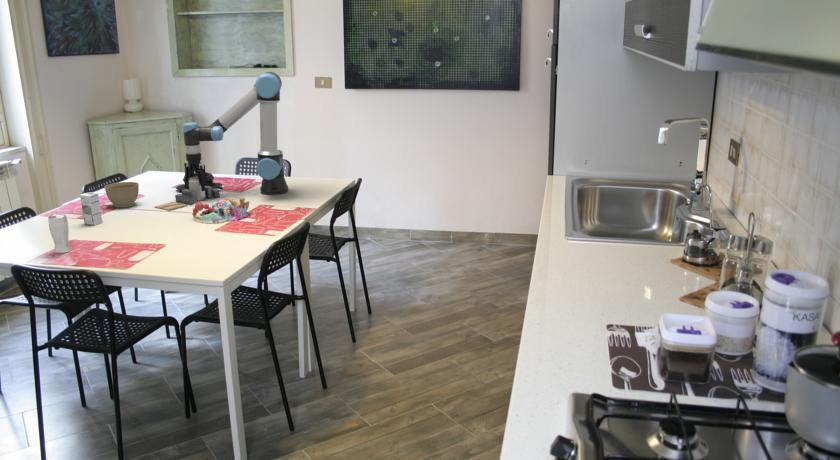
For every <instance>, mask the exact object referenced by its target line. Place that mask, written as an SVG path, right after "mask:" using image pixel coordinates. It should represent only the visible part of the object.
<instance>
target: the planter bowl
mask: <svg viewBox="0 0 840 460" xmlns="http://www.w3.org/2000/svg"><path fill="white" fill-rule="evenodd" d="M139 186H140V183H139V182H136V181H135V182H134V181H124V182H123V181H121V182H114V183H110V184H106V185H105V186H104V191H105V193H106V197H107V198H108V201H110V202H111V204H112V205H113V207H114V208H117V209H118V208H119V209H121V208H129V207H132V206H134V205H135V202H136V200H137V198H138V195H139V189H140V188H139Z"/></svg>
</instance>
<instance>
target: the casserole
mask: <svg viewBox="0 0 840 460" xmlns="http://www.w3.org/2000/svg"><path fill="white" fill-rule="evenodd" d="M194 177H197V174H196V173H195V172H194ZM206 177H207V182H208V183H207V184H205V186H210V187H213V188H216V189H217V188H218V189H220V188H221V187H222V186H223V184H222V183H221V182H214V179H215V177H214V175H213V173H211V172H206ZM187 179H188V178H187ZM182 182H183V183H184V184H180V185H177V186H176V187H175V189H176V190H178V191H181V190H185V189H187V190H190V189H189V184H188V182H187V181H185V175H184V176H183V179H182Z"/></svg>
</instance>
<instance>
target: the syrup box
mask: <svg viewBox="0 0 840 460" xmlns="http://www.w3.org/2000/svg"><path fill="white" fill-rule="evenodd" d="M79 198H80V203H81V210H82V215H83V221H84V225H87V226H96V225H99V224H102V223H103V222H104V221H103V217H102V212H101V211H102V210H101V205H100V204H101V203H100V197H99V193H98V192H88V191H87V192H84V193H82V194H79Z"/></svg>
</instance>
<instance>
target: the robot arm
mask: <svg viewBox="0 0 840 460" xmlns="http://www.w3.org/2000/svg"><path fill="white" fill-rule="evenodd" d="M281 89H282V80H281V77H280V76H279V75H278V74H277V73H275V72H272V71H267V72H265V73H262V74H260V75H259V76H258V77H257V78H256V80H255V83H254V84H253V87H252V89H250V90H249V91H248V92H247V93H246V94H245V95H243V96H242V97H241V98H240V99H239V100H238V101H236V102H235V103H234V104H233V105H232V106H231V107H229V108H228V109H227V110H226V111H225V112H224V113H222V114H221V116H219V117H218V118H217V119H216V120H214V121H213V122H212V123H211V124H209V125H208V126H199V124H198V123H197V122H195V121H193V122H192V121H191V122H185V123H183V125H182V133H183V139H184V140H183V141H184V149H185V160H186V162H184V163H183V165H184V176H185V181H187V182H188V184H189V180H190V178H191V177H194V173H196V174H197V177H198V179H199V182H200V184H199V188H200V197H205V184H207V183H208V182H207V177H206V173H207V171H206V165H205V164H202V162H201V161H202V153H201V151H202V150H201V144H200V142H218V141H219V142H221V141H223V139H224V133H226V132H227V131H228V130H229V129H230V128H231V127H232V126H233V125H235V124H236V123H237V122H239V121H240V120H241V119H242V118H243V117H244V116H245V115H247V114H248V113H249V112H251V110H253V109H254V108H255V107H256V106H258V105H259V121H260V122H259V133H260V134H259V135H260V138H259V139H260V140H259V141H260V146H259V147H260V150H259V151H257V164H256V166H255V167H256V172H257V175H258V176H259V177H260V178H262V179H261V186H260V188H259V189H260V193H261V195H270V196H271V195H281V194H285V193H288V192H289V186H288V184H287V181H286V177H285V168H284V159H283V158H284V154H283V151H282V150H281V149H278V103H279V102H280V101H281ZM187 178H188V179H187ZM189 189H190V188H189Z"/></svg>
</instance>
